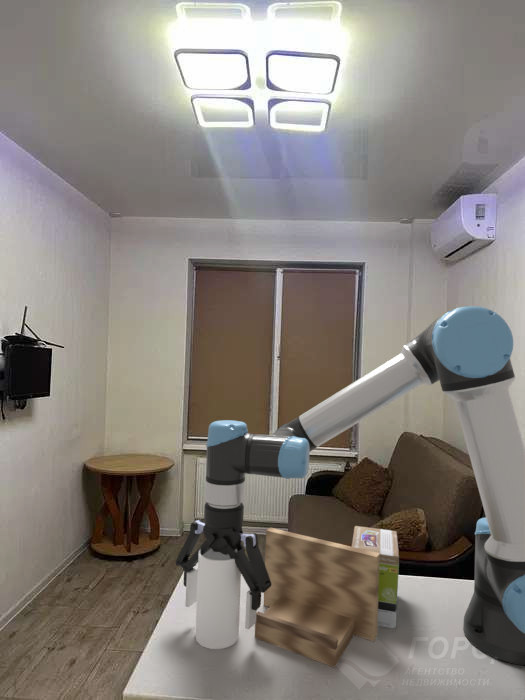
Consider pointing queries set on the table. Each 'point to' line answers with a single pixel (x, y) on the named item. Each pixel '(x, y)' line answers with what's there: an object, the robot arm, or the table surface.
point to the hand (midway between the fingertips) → (219, 614)
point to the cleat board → (317, 595)
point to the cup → (217, 600)
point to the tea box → (382, 568)
